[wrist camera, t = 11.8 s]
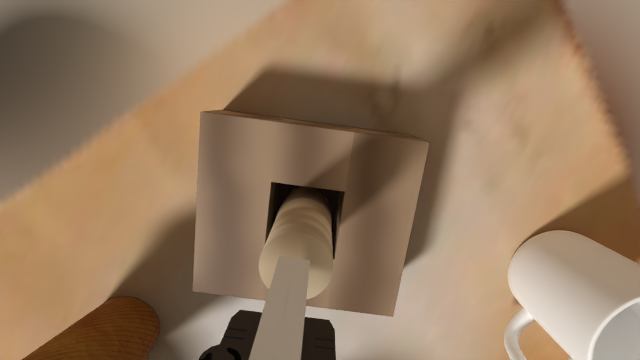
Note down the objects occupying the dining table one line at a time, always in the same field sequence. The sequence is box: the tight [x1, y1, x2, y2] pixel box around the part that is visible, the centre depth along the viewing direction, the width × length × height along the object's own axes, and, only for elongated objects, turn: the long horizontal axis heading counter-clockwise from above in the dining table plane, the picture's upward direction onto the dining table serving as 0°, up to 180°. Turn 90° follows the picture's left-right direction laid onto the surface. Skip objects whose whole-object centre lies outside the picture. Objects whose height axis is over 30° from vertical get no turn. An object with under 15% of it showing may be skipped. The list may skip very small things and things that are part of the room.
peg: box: [259, 185, 333, 300], centre depth 24 cm, size 4×4×12 cm
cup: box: [504, 230, 640, 360], centre depth 26 cm, size 8×12×10 cm
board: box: [193, 110, 430, 317], centre depth 27 cm, size 16×14×5 cm
